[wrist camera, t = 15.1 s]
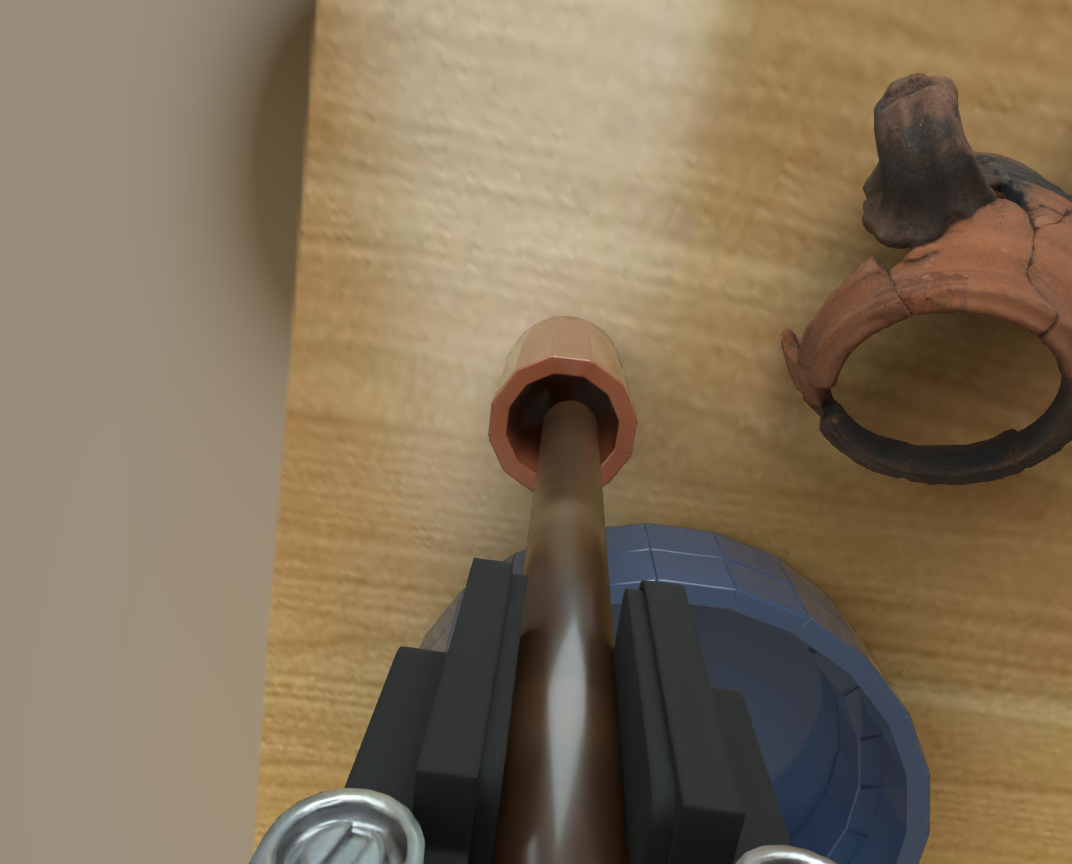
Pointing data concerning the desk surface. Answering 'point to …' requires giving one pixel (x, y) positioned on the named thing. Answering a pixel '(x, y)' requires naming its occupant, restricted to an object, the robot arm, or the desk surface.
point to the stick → (565, 668)
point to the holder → (561, 395)
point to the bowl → (786, 689)
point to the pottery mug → (946, 279)
